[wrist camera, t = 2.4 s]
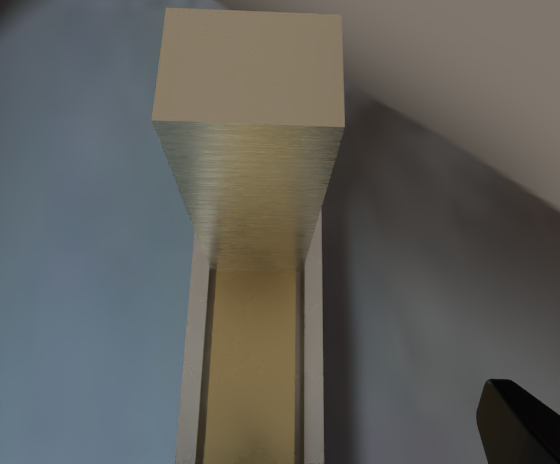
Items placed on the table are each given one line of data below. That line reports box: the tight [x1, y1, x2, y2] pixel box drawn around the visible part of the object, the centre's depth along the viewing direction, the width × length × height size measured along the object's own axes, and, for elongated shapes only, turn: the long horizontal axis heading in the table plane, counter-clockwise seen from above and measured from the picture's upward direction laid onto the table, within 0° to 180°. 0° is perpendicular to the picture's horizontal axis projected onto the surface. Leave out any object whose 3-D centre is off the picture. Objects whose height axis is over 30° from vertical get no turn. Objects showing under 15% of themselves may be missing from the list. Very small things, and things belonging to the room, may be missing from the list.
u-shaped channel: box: [175, 211, 324, 464], centre depth 19 cm, size 14×5×3 cm, turn 179°
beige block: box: [152, 8, 345, 464], centre depth 14 cm, size 12×4×13 cm, turn 179°
